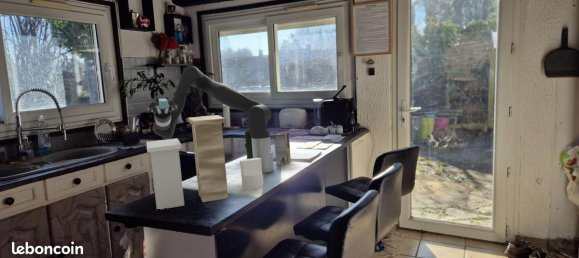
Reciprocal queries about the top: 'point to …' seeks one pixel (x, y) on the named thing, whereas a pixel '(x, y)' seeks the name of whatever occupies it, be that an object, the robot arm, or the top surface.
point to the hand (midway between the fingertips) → (162, 99)
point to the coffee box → (282, 148)
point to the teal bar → (163, 103)
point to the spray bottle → (248, 143)
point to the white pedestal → (166, 172)
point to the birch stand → (209, 157)
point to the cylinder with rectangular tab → (251, 173)
